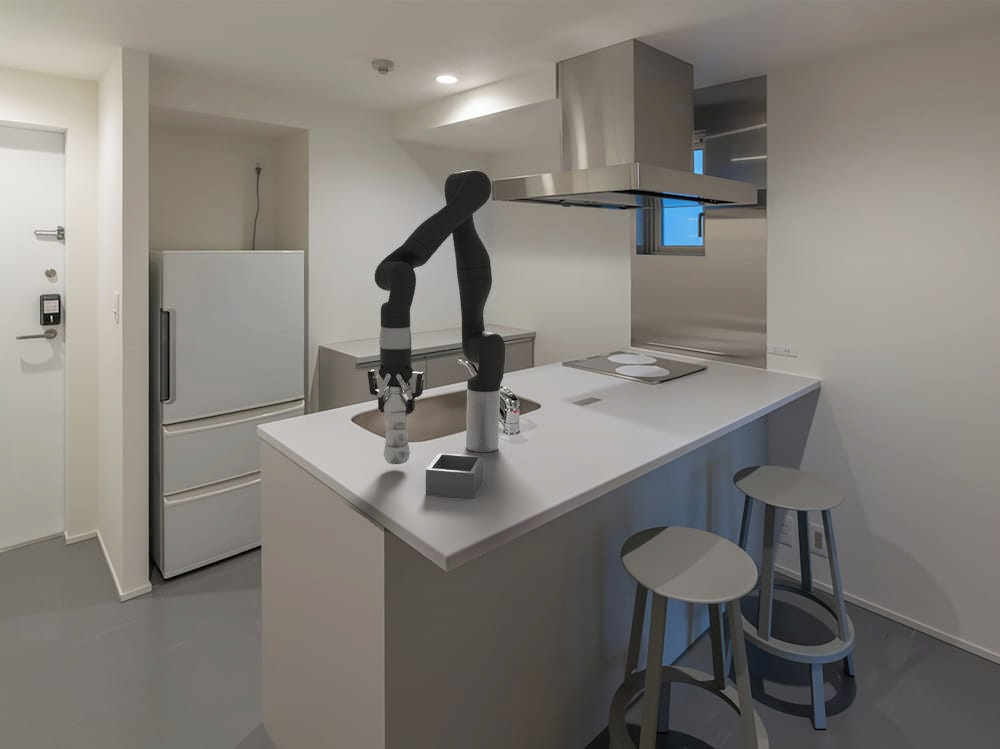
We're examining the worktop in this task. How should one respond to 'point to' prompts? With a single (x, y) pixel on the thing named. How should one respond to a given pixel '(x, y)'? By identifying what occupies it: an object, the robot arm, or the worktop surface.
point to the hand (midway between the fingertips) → (396, 412)
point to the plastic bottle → (396, 427)
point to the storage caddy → (454, 475)
